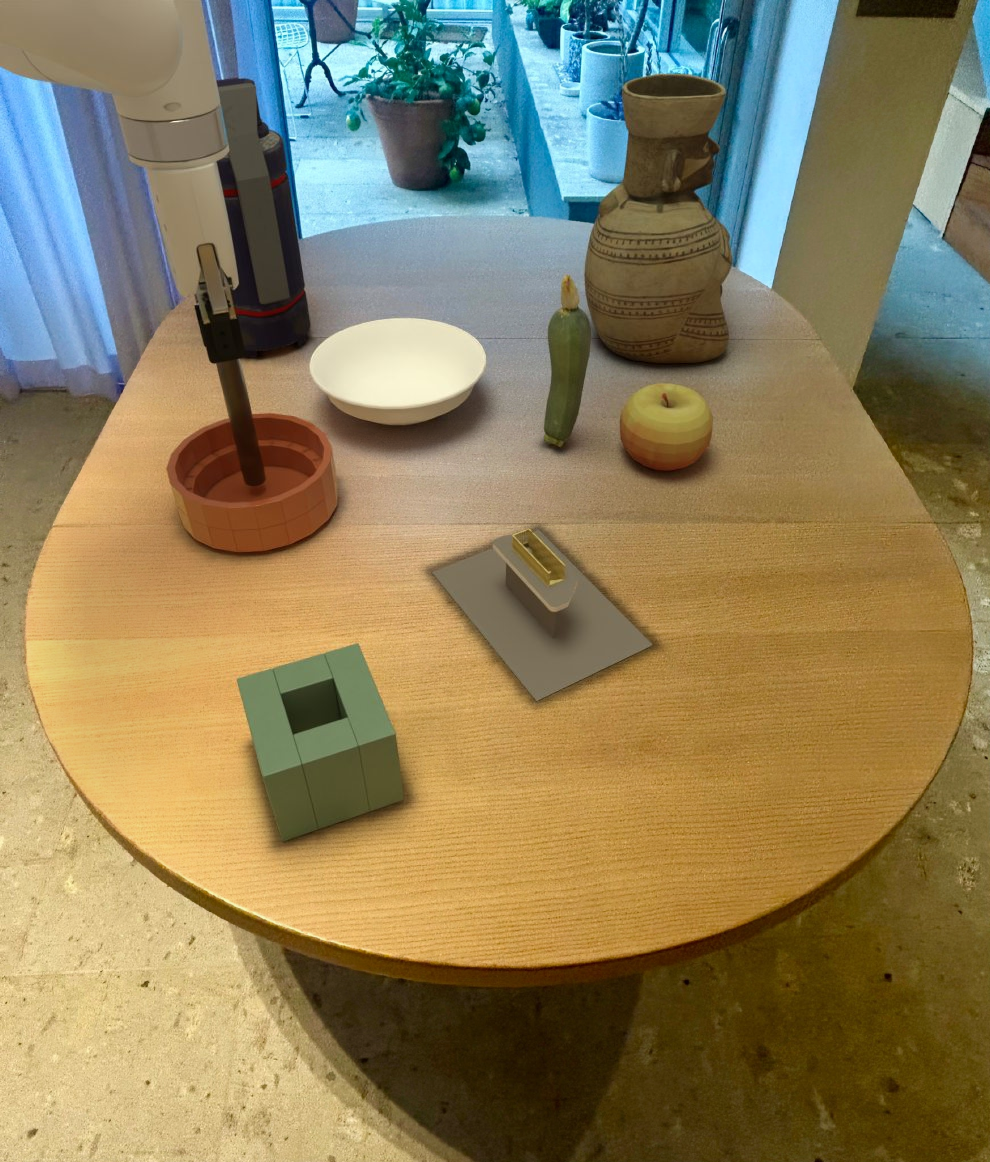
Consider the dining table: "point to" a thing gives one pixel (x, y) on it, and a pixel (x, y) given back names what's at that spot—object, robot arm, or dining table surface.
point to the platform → (540, 612)
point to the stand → (322, 740)
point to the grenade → (261, 225)
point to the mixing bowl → (254, 513)
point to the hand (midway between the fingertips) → (224, 350)
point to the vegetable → (566, 364)
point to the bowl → (398, 369)
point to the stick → (241, 420)
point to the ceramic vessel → (662, 230)
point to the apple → (666, 426)
